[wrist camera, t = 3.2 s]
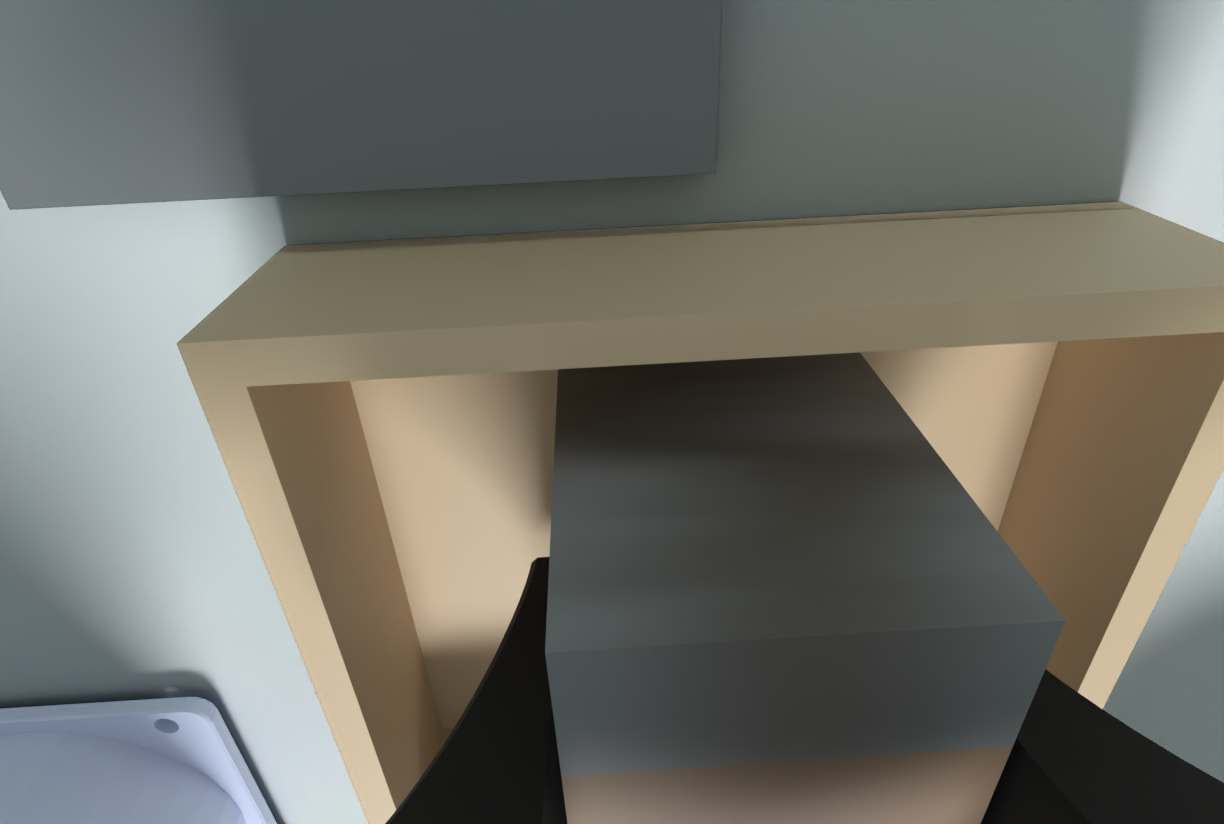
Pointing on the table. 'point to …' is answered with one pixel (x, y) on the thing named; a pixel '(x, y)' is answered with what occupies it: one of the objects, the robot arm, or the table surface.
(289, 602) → the shallow wooden tray
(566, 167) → the panel
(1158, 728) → the table surface
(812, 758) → the box
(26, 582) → the table surface
